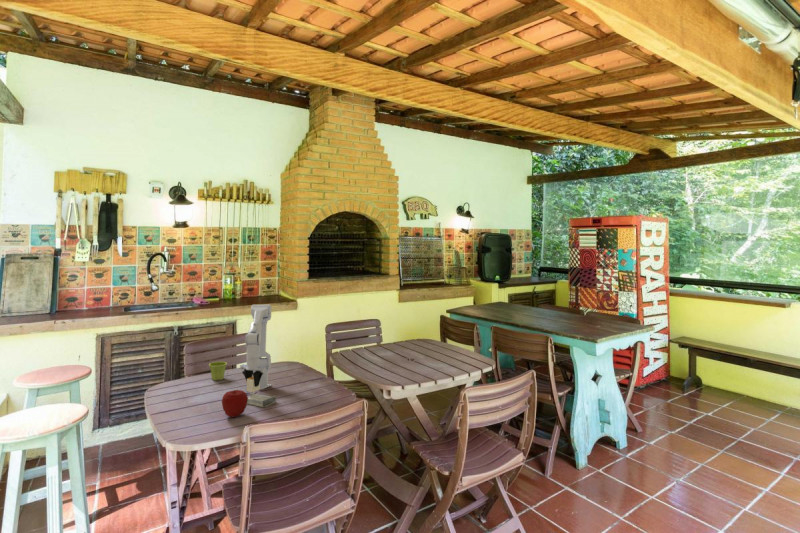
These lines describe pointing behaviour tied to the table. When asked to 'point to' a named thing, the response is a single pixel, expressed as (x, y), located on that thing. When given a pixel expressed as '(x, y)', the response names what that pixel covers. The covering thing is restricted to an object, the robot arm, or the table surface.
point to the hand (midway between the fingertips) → (253, 385)
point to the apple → (234, 402)
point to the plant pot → (217, 370)
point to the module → (252, 385)
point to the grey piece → (260, 400)
